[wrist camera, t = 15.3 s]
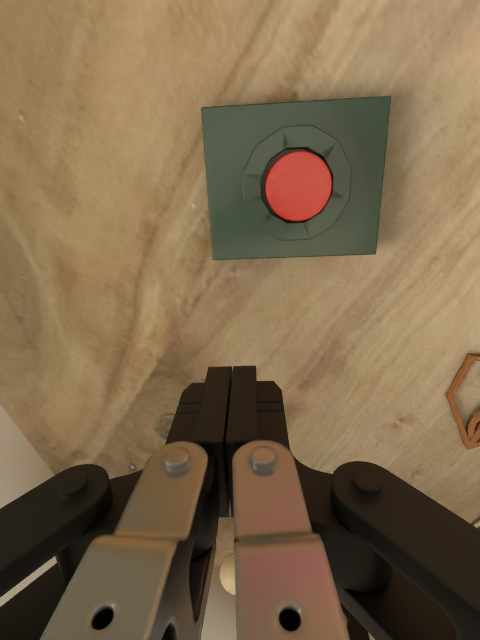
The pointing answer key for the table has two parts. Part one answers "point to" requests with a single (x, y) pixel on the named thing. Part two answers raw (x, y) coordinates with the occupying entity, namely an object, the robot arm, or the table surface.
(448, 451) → the table surface
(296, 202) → the button
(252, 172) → the control block
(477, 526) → the supplement bottle
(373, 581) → the robot arm
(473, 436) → the emblem
